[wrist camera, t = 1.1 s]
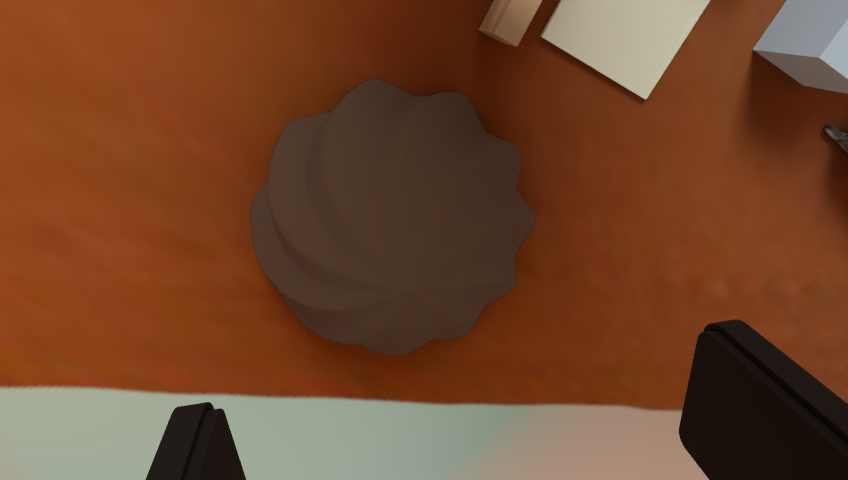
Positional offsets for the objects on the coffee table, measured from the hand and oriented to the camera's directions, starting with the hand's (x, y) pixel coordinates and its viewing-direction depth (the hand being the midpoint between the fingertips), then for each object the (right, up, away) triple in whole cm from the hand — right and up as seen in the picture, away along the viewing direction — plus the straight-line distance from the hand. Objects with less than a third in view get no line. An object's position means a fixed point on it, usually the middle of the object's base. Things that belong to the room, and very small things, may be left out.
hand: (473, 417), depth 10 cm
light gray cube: (+25, +18, +25) cm, 40 cm away
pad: (+12, +19, +23) cm, 32 cm away
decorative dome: (-3, +5, +27) cm, 28 cm away
